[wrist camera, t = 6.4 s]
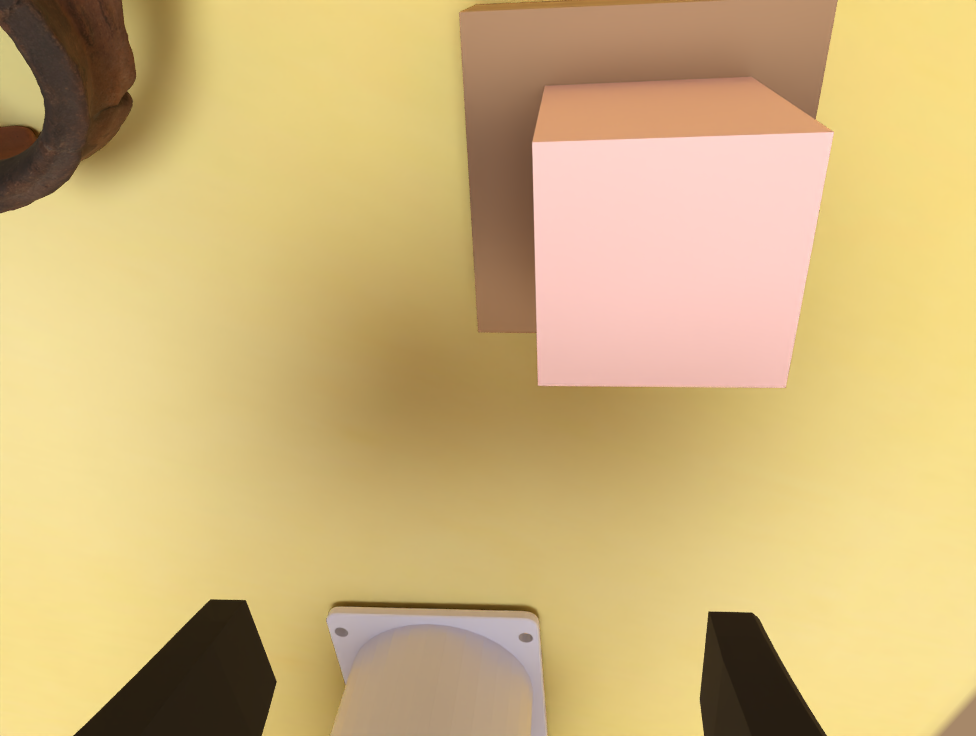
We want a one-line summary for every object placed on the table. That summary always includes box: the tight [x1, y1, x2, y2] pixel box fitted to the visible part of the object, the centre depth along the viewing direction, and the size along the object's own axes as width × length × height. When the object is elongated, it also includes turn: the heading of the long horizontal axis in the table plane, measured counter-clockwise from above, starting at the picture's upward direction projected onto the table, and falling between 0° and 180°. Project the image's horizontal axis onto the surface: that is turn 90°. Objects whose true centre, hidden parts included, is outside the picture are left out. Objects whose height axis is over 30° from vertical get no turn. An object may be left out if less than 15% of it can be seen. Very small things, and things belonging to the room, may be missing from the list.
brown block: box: [459, 0, 838, 333], centre depth 16 cm, size 7×7×3 cm
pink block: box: [532, 77, 834, 388], centre depth 13 cm, size 4×4×5 cm
